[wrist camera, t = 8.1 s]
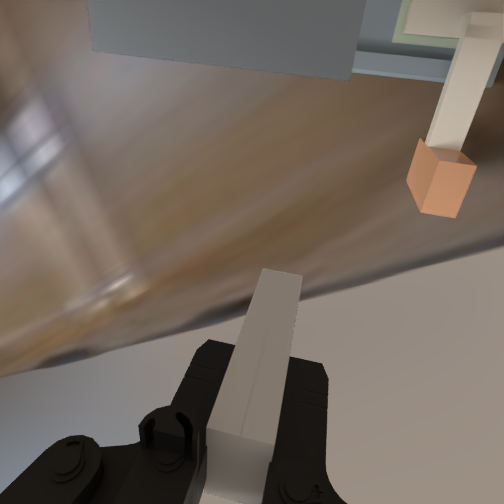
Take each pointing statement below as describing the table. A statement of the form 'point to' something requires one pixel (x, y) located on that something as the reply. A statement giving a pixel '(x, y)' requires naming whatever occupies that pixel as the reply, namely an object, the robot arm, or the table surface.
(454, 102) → the light brown angled piece
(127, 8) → the tunnel deck
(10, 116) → the table surface
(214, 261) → the table surface
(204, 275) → the table surface
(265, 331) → the robot arm
